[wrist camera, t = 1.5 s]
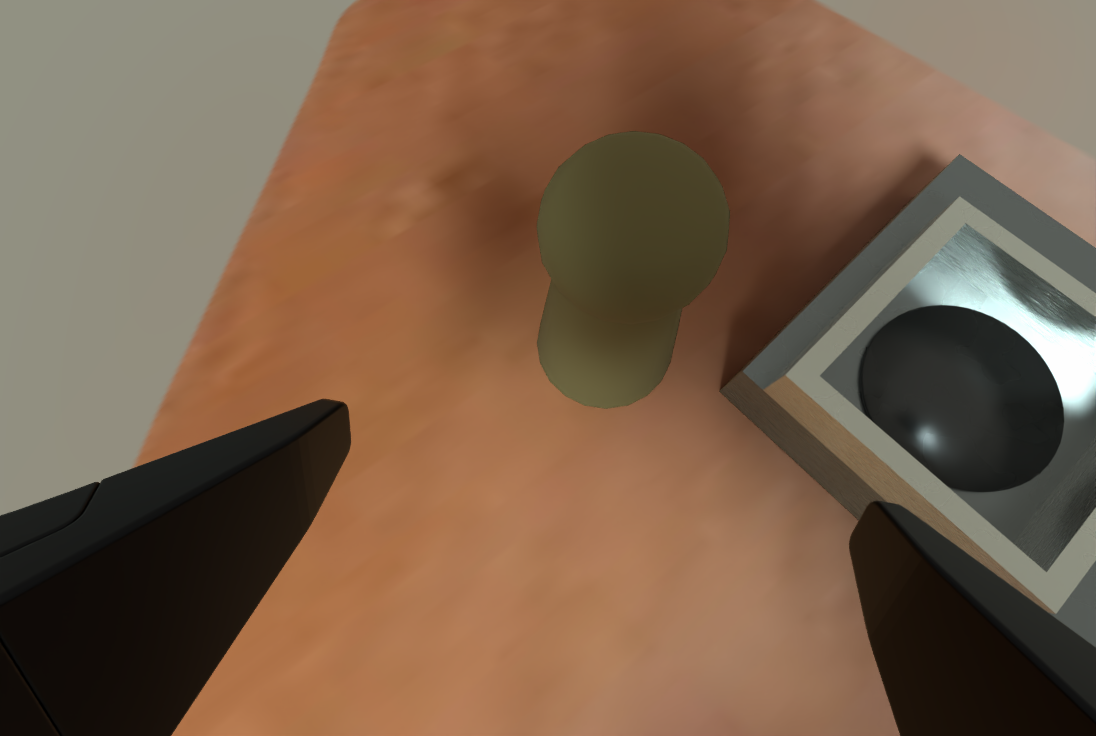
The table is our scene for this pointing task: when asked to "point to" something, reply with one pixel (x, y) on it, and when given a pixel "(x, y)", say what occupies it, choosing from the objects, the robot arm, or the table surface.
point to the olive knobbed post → (624, 262)
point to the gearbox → (954, 385)
